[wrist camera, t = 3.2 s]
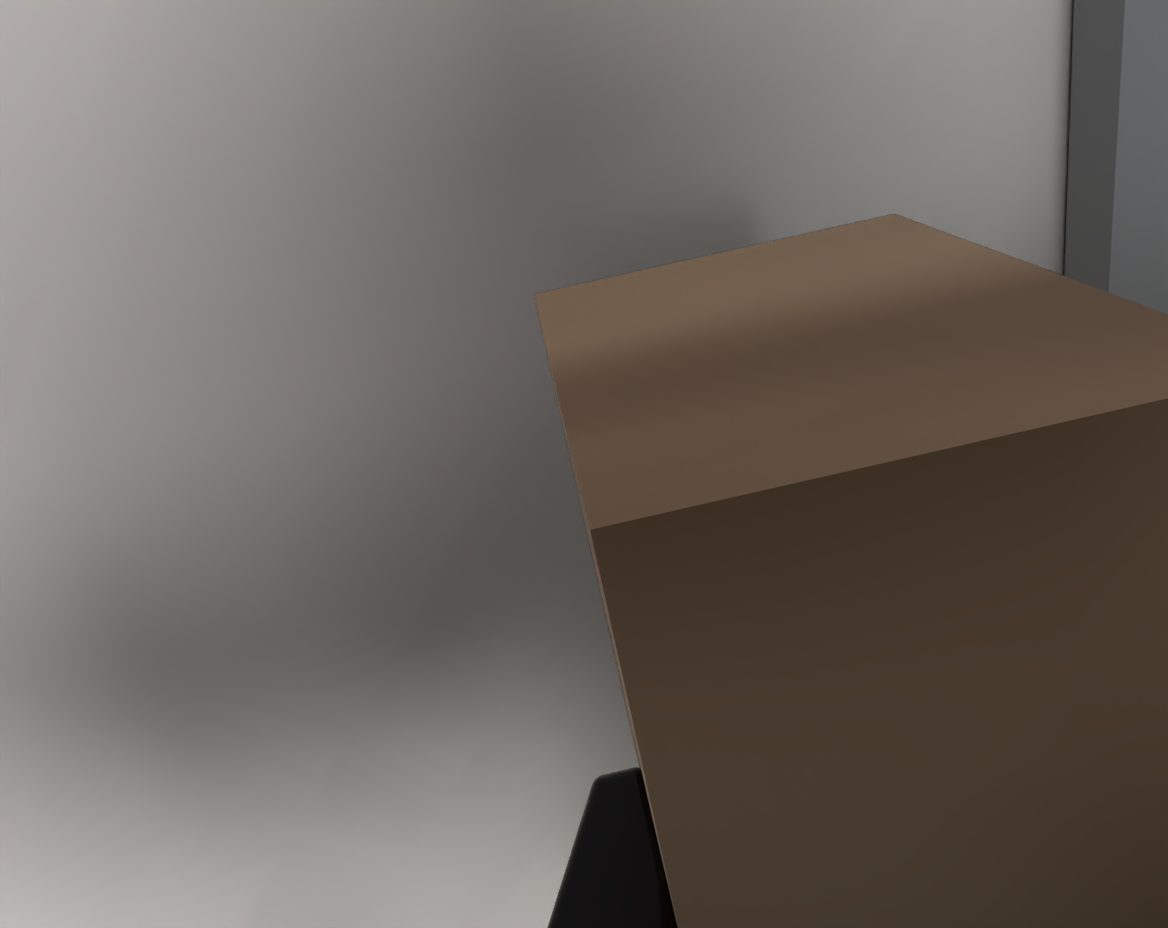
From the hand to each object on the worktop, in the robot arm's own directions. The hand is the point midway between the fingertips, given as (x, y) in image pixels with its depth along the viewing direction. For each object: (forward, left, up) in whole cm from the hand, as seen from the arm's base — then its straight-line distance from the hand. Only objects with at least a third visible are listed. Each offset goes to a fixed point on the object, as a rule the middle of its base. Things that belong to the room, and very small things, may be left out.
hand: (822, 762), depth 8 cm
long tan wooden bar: (0, +6, -2) cm, 6 cm away
